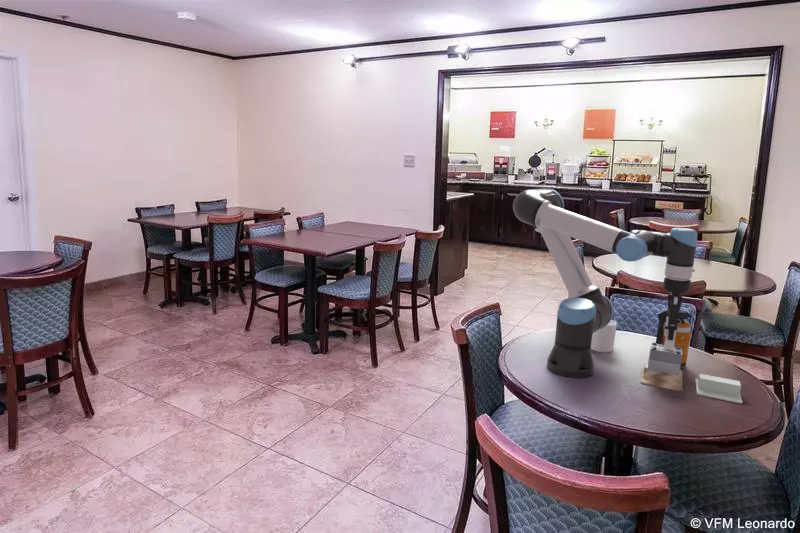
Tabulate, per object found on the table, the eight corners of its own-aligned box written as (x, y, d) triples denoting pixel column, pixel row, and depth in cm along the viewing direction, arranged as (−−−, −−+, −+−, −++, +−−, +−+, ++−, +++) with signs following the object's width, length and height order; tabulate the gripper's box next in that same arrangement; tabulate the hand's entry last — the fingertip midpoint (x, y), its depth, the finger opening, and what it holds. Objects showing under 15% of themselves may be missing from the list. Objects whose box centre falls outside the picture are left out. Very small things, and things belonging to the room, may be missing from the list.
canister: (688, 371, 183) (698, 315, 179) (654, 367, 185) (662, 312, 181) (681, 361, 192) (690, 307, 187) (648, 358, 194) (656, 304, 189)
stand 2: (696, 394, 166) (699, 382, 165) (695, 380, 176) (697, 368, 176) (742, 403, 161) (744, 391, 160) (737, 388, 171) (739, 376, 171)
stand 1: (640, 383, 173) (642, 371, 172) (642, 369, 183) (643, 358, 182) (682, 391, 168) (684, 379, 167) (681, 377, 178) (683, 366, 177)
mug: (622, 348, 203) (625, 321, 200) (605, 355, 195) (608, 326, 193) (601, 341, 209) (604, 314, 207) (584, 347, 202) (587, 320, 199)
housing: (647, 369, 173) (650, 347, 172) (648, 362, 179) (651, 341, 178) (678, 375, 170) (682, 353, 168) (678, 368, 175) (681, 346, 174)
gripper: (693, 288, 155) (682, 357, 160) (689, 271, 177) (680, 333, 182) (664, 284, 158) (654, 352, 163) (664, 269, 180) (656, 329, 185)
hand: (668, 342), depth 172 cm, fingers open, 13 cm apart
